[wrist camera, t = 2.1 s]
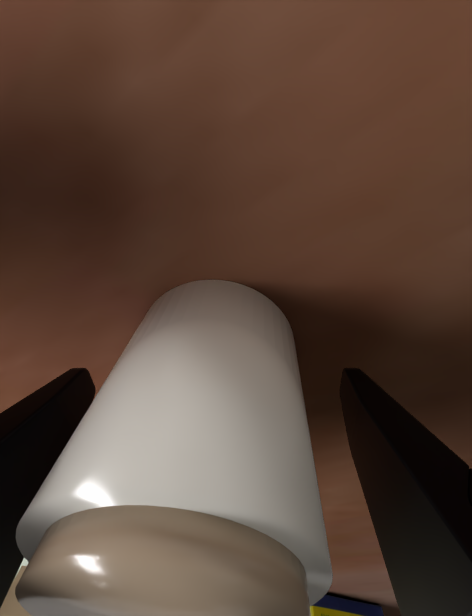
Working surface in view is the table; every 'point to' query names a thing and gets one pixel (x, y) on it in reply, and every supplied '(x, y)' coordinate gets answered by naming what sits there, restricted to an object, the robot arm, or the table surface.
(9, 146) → the table surface
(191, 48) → the table surface
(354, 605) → the supplement box
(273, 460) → the ceramic jar
